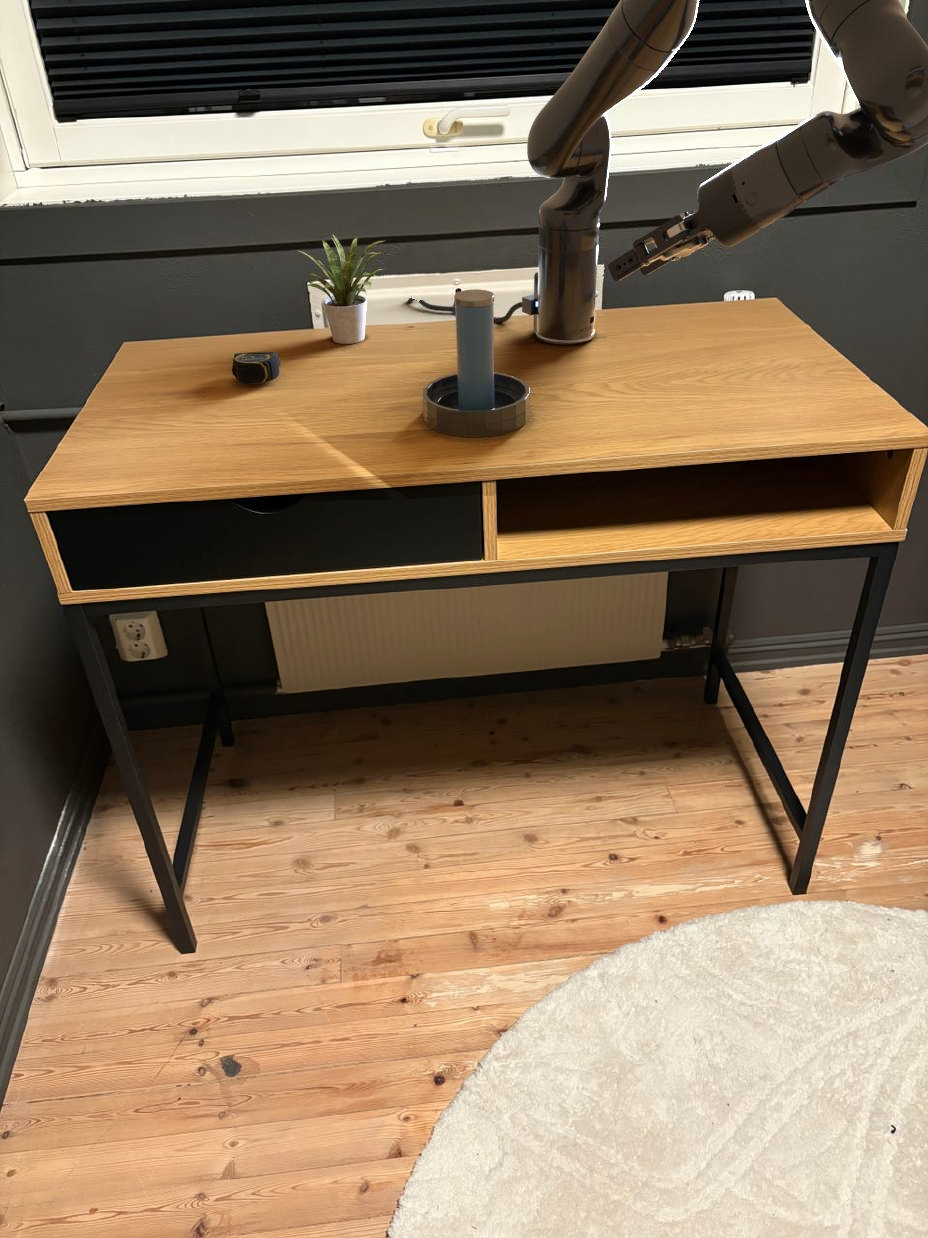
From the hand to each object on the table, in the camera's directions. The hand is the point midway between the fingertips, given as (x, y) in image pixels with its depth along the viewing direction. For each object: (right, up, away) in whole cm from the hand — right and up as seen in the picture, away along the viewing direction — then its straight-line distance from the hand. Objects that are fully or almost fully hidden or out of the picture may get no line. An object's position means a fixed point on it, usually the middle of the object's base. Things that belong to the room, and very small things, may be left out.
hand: (626, 270), depth 111 cm
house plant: (-37, +5, +44) cm, 57 cm away
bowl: (-18, -14, +15) cm, 27 cm away
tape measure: (-51, -5, +30) cm, 59 cm away
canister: (-18, -14, +15) cm, 27 cm away
